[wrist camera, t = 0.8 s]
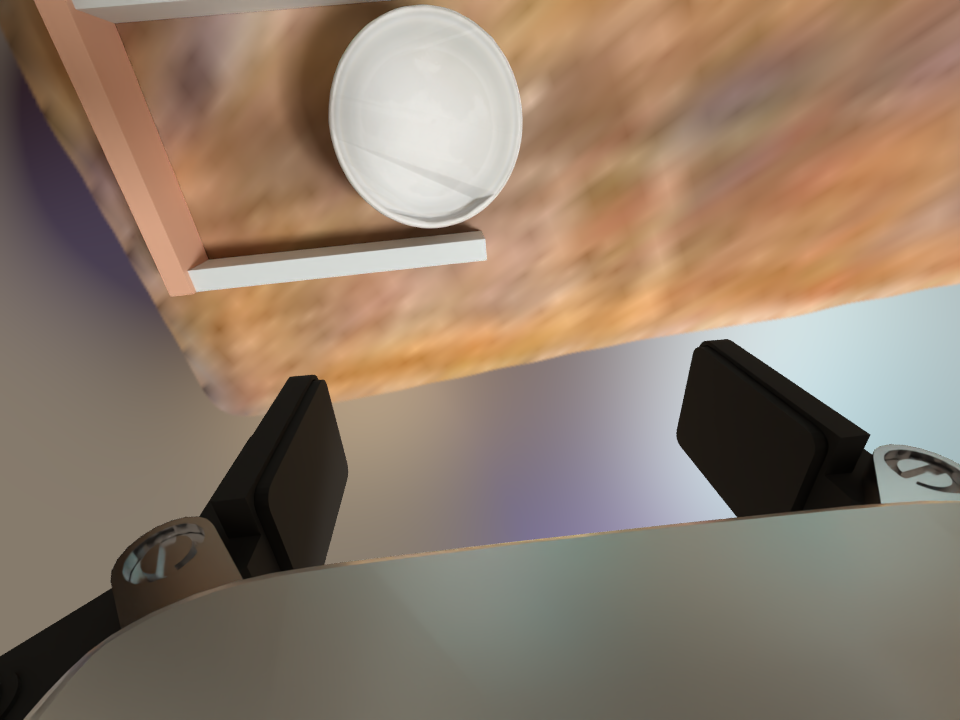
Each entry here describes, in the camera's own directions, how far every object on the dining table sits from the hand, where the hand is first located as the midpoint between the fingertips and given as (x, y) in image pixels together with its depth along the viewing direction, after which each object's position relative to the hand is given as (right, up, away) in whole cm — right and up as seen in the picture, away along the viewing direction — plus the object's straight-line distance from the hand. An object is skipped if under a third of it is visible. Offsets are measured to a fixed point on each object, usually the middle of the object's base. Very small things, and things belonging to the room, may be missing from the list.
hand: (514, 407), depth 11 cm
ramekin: (-4, +17, +18) cm, 25 cm away
